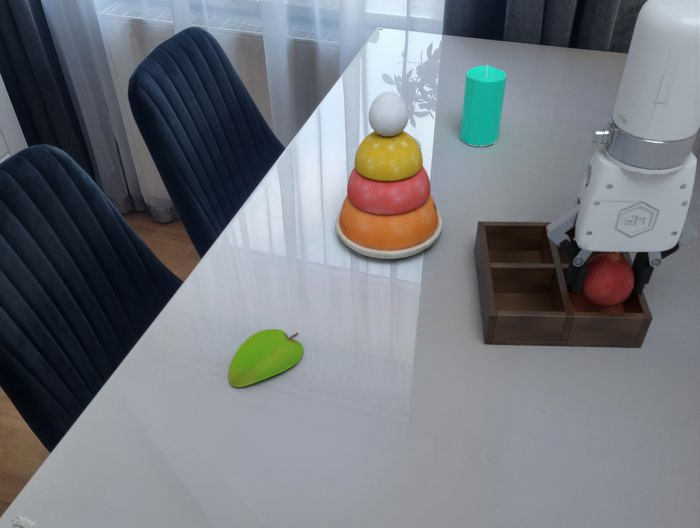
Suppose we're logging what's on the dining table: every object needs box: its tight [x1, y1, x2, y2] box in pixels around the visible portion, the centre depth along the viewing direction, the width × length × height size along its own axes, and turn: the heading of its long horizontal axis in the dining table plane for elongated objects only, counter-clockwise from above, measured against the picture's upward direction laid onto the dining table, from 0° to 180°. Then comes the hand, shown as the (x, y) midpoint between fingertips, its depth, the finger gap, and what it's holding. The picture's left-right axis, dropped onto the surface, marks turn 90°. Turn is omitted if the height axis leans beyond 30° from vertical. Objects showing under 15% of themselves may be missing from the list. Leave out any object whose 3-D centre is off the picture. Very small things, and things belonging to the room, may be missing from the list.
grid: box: [473, 220, 653, 349], centre depth 81 cm, size 17×17×5 cm
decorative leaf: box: [228, 328, 304, 388], centre depth 76 cm, size 8×9×1 cm
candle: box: [459, 63, 507, 146], centre depth 105 cm, size 6×6×12 cm
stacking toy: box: [335, 91, 443, 260], centre depth 86 cm, size 14×14×20 cm
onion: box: [581, 252, 634, 308], centre depth 76 cm, size 6×6×8 cm
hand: (604, 285), depth 76 cm, fingers closed on onion, 5 cm apart
